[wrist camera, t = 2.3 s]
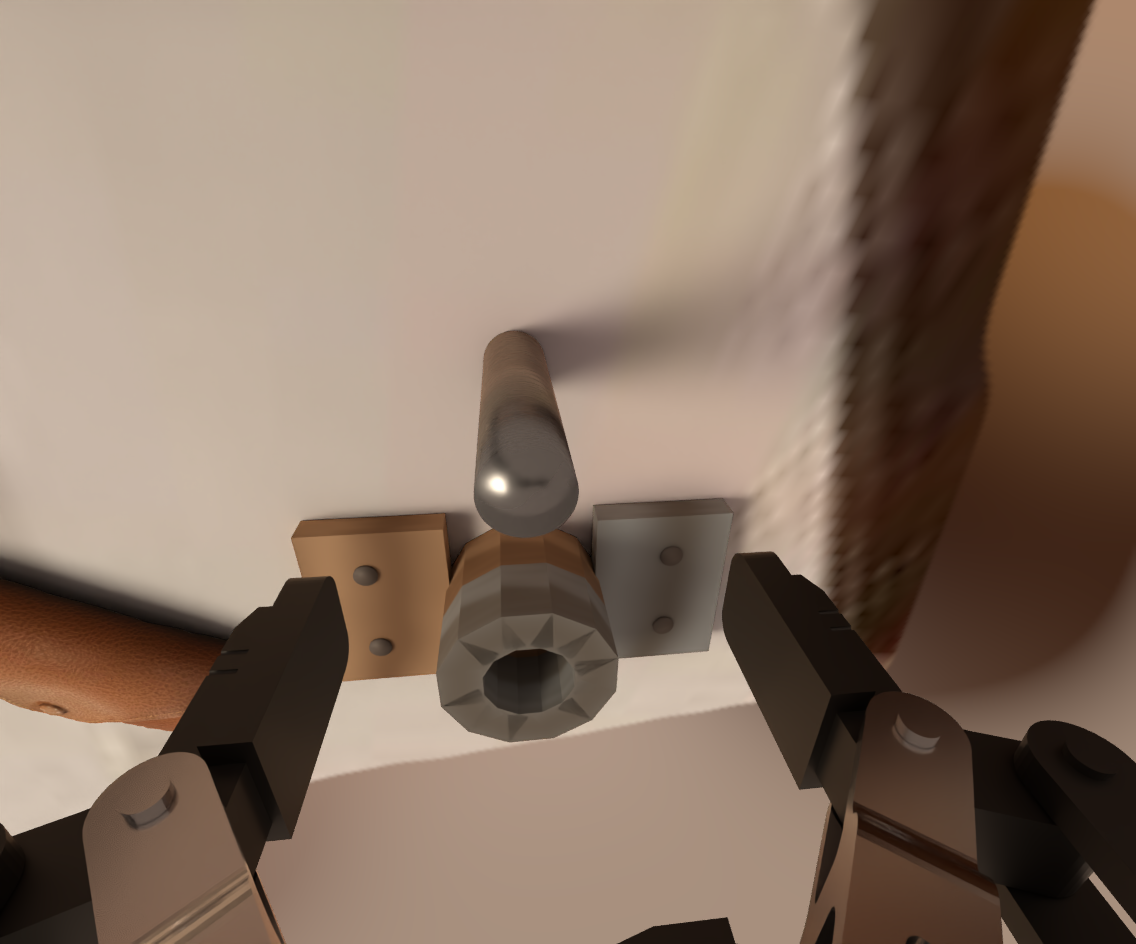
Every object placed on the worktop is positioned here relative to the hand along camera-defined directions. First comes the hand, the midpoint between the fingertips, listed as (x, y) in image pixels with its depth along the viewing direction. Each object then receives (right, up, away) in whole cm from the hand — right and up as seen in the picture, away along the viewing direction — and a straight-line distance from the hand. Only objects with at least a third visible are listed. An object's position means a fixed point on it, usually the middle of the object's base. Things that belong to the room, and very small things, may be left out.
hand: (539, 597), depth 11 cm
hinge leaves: (-2, -4, +20) cm, 21 cm away
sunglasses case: (-26, -7, +20) cm, 33 cm away
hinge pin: (-2, +8, +14) cm, 16 cm away
